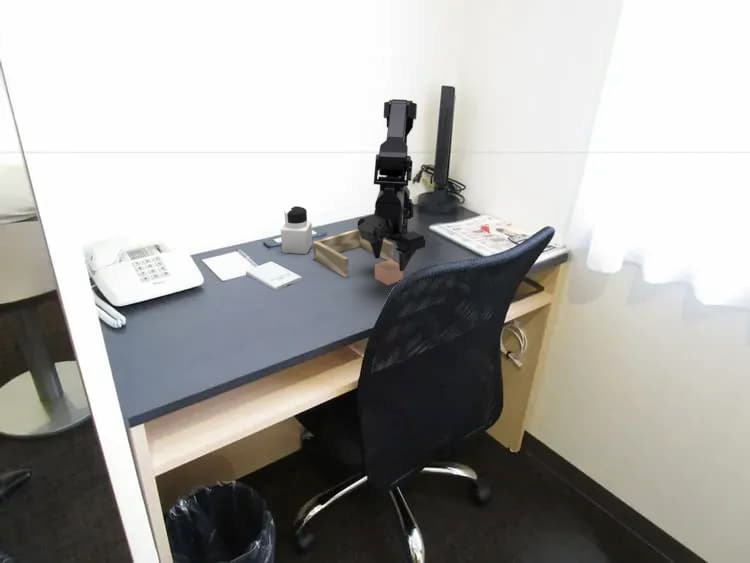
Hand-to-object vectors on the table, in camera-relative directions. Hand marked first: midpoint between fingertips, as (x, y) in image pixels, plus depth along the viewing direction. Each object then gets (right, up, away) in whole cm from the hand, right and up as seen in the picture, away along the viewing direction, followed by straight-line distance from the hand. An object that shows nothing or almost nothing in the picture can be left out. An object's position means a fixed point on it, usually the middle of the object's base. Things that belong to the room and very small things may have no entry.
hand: (389, 264), depth 120 cm
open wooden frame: (-9, +2, +12) cm, 15 cm away
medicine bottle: (-26, +5, +18) cm, 31 cm away
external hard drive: (-29, -4, +2) cm, 29 cm away
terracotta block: (0, -4, +2) cm, 4 cm away
